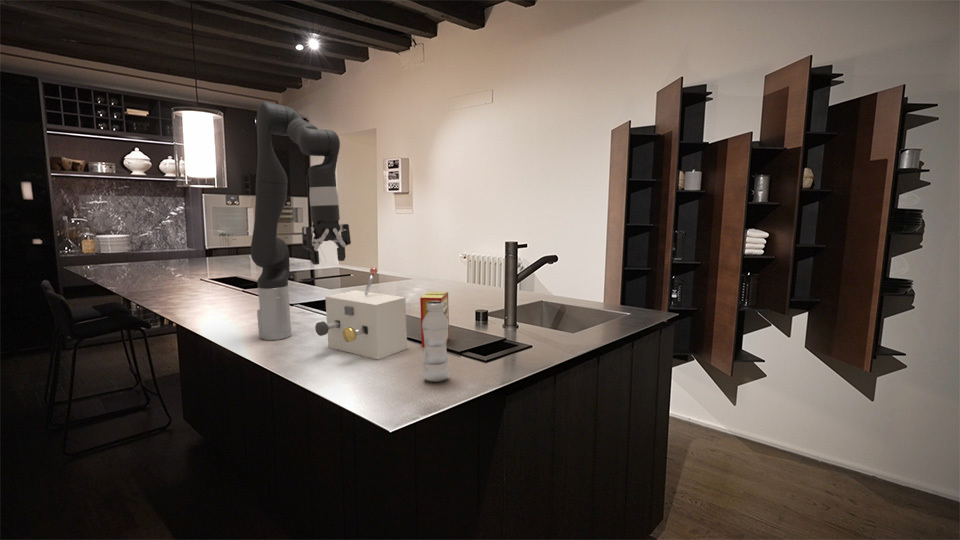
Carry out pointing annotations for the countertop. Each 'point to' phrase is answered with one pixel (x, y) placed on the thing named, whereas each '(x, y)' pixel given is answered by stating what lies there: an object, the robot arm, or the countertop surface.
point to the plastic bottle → (435, 343)
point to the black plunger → (325, 327)
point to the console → (368, 323)
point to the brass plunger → (352, 333)
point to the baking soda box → (434, 297)
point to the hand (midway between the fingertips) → (329, 262)
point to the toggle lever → (370, 279)
